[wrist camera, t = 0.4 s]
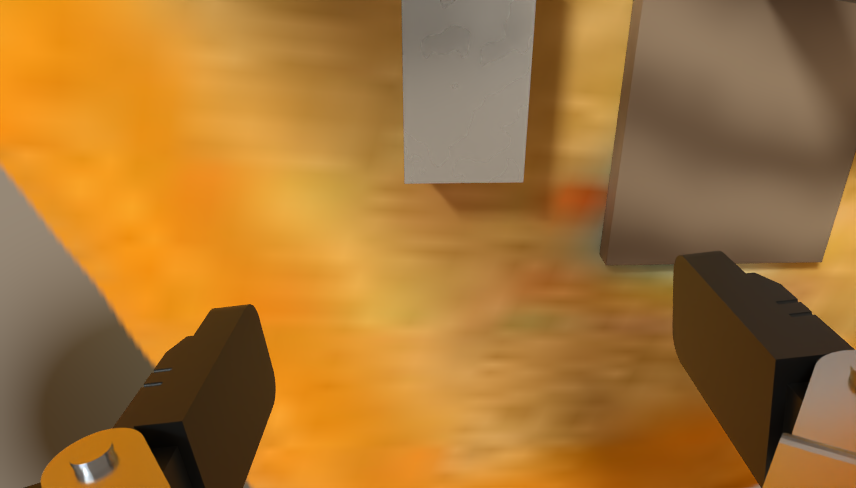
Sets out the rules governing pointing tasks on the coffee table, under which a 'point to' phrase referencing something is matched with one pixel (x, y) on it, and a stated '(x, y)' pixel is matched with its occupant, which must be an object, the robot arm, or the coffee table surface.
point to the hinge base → (732, 130)
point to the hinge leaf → (466, 89)
